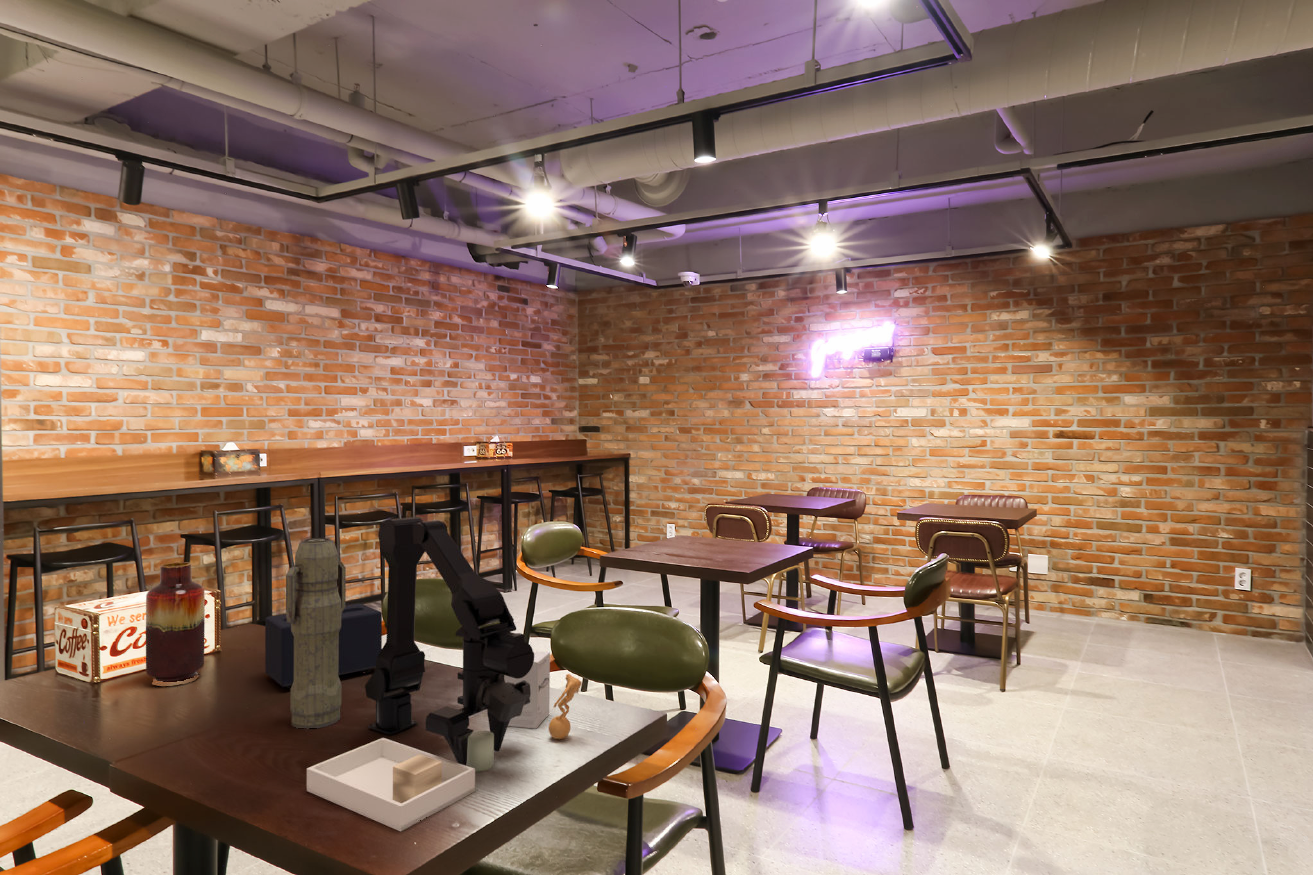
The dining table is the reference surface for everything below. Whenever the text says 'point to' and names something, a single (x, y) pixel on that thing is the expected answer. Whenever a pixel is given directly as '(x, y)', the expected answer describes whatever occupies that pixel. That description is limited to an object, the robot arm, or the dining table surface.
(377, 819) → the bin
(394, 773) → the beech cube
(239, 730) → the dining table surface
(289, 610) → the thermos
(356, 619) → the speaker
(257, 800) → the dining table surface
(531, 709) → the supplement box
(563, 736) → the figurine
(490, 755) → the green cylinder
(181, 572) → the vase
